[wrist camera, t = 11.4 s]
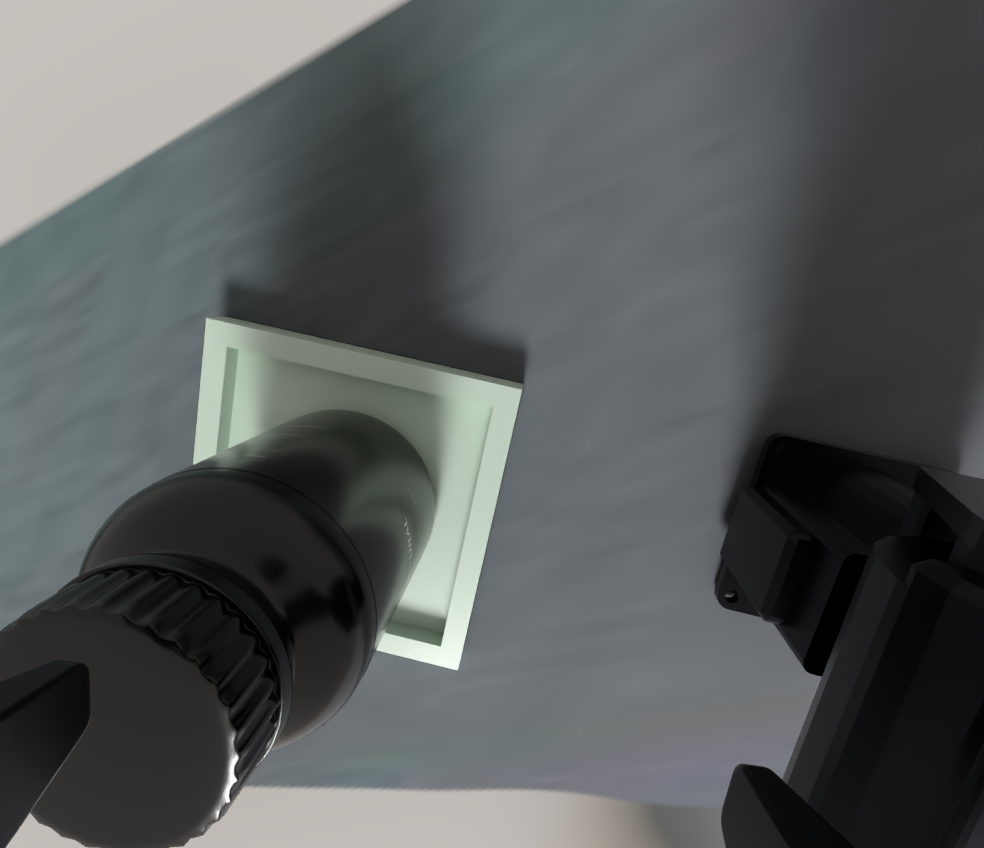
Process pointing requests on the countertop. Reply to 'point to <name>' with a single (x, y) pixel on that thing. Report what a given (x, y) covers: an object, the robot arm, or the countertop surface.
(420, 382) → the sage tray
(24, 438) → the countertop surface
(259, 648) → the supplement bottle
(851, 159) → the countertop surface
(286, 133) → the countertop surface
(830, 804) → the robot arm
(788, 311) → the countertop surface
